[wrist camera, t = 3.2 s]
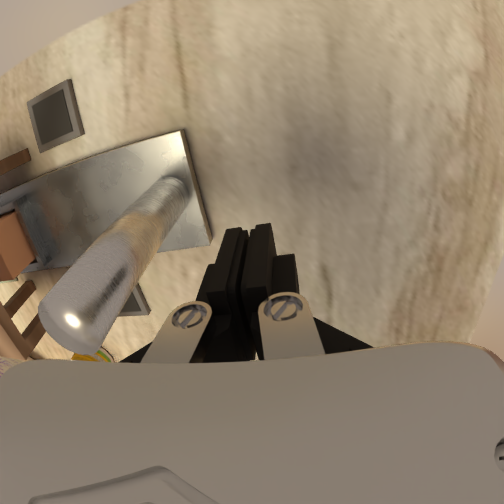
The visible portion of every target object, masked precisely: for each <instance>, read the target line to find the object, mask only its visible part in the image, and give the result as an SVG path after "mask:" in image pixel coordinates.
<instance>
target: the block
mask: <svg viewBox="0 0 504 504" xmlns="http://www.w3.org/2000/svg"><path fill="white" fill-rule="evenodd" d="M35 258H36V257H35V255H34V253H33V251H32V248H31V246H30V244H29V242H28V240H27V237H26V235H25V233H24V230H23V228H22V226H21V223H20V221H19V218H18V216H17V213H16V211H15V210H12V211H10V212H7V213H5V214H2V215H0V282H1V281H9V280H14V279H15V278H16V277H17V276H18V275H19V274H20V273H21V272H22V271H23V270H24V269H25V268H26V267H27V266H28V265H29V264H30V263H31V262H32V261H33V260H34V259H35Z"/></svg>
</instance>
